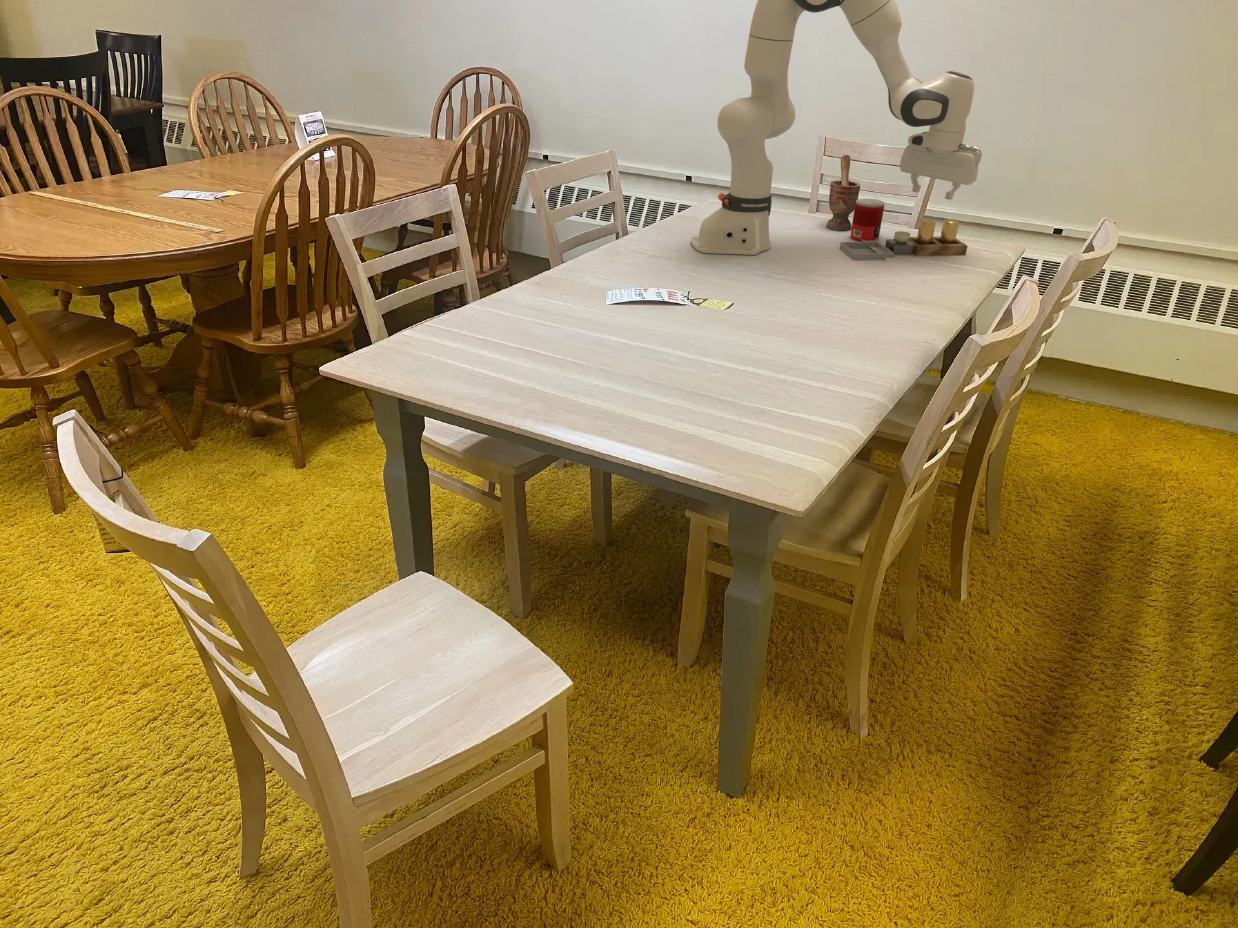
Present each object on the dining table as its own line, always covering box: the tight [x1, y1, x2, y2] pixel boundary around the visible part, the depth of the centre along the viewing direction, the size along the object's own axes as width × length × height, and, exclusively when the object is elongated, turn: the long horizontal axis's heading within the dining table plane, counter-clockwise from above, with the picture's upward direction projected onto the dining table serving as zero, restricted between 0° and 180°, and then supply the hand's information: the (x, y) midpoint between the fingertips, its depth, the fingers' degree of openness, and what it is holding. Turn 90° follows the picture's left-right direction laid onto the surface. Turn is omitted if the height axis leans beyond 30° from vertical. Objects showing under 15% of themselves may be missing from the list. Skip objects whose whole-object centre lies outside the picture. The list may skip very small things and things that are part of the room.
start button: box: [893, 230, 911, 244], centre depth 228 cm, size 4×4×5 cm
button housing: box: [884, 238, 916, 256], centre depth 229 cm, size 6×6×4 cm
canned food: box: [850, 198, 885, 242], centre depth 239 cm, size 8×8×11 cm
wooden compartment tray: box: [909, 236, 968, 257], centre depth 230 cm, size 14×9×4 cm, turn 96°
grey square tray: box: [839, 240, 895, 261], centre depth 228 cm, size 11×11×2 cm
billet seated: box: [939, 218, 960, 244], centre depth 228 cm, size 4×4×8 cm
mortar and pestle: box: [826, 154, 861, 232], centre depth 249 cm, size 12×9×20 cm
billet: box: [916, 219, 937, 245], centre depth 228 cm, size 4×4×8 cm
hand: (931, 195), depth 223 cm, fingers open, 8 cm apart
